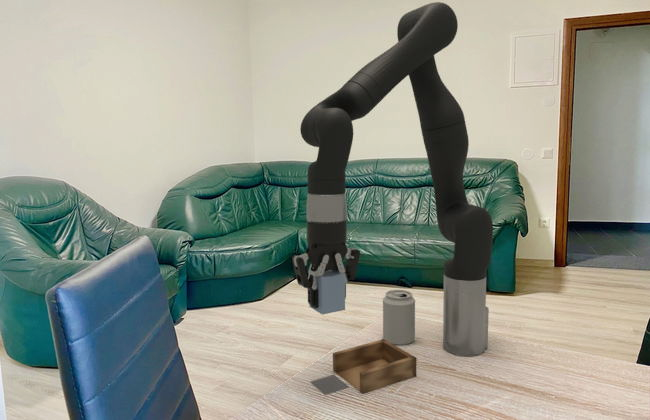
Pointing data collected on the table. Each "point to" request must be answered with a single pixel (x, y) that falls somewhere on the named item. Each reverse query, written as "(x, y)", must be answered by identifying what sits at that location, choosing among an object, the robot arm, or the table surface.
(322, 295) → the block
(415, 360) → the crate
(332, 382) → the coaster
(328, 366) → the table surface
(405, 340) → the can
